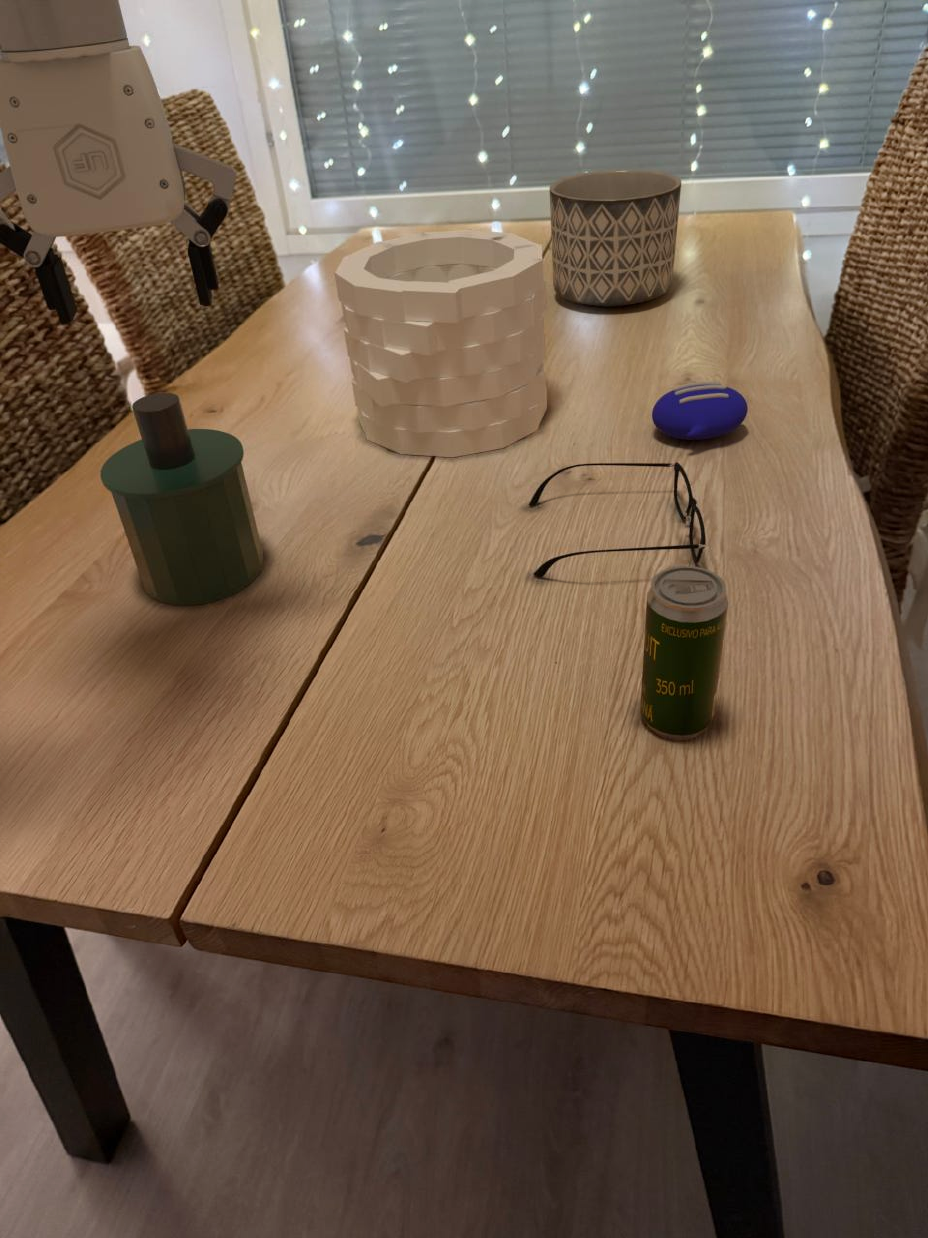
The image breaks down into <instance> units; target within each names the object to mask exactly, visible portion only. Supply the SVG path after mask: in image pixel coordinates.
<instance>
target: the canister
mask: <svg viewBox="0 0 928 1238" xmlns="http://www.w3.org/2000/svg"><path fill="white" fill-rule="evenodd" d="M110 493H111V495H112V499H113V501H114V504H115V508H116V510H117V513H118V516H119V518H120V522H121V525H122V527H123V530H124V533H125V537H126V539H127V543H128V546H129V548H130V551H131V554H132V557H133V560H134V562H135V565H136V569H137V572H138V575H139V577H140V580H141V583H142V586H143V589H144V590H145V592H146V593H147V595H148V596H149V597H151V598H152V599H153V600H155V601H157V602H160V603H163V604H167V605H172V606H197V605H203V604H209V603H213V602H217V601H220V600H222V599H225V598H227V597H231V596H232V595H235V594H236V593H238V592H240V591H242V590H243V589H245V588H246V587H248V586H249V585H250V584H252V582H254V580H256V579H257V577H258V575H260V573H261V571H262V569H263V567H264V561H265V559H264V551H263V547H262V542H261V538H260V534H259V531H258V526H257V522H256V518H255V517H256V516H255V514H254V509H253V505H252V500H251V497H250V493H249V489H248V485H247V480H246V476H245V472H244V468H243V464H242V462H241V463H240V465H239V466H238V467H237V468H236V469H235V470H234V471H233V472H232V473H231V474H229V475H228V476H227V477H225V478H223V479H222V480H220V481H218V482H216V483H214V484H212V485H210V486H208V487H205V488H203V489H200V490H197V491H194V492H190V493H187V494H183V495H178V496H173V497H167V498H158V499H136V498H128V497H123V496H120V495H117V494H114V493H112V492H111V491H110Z"/></svg>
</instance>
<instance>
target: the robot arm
mask: <svg viewBox="0 0 928 1238" xmlns="http://www.w3.org/2000/svg"><path fill="white" fill-rule="evenodd" d="M0 55H1V56H0V57H1V58H0V132H1V136H2V141H3V145H4V150H5V152H6V157H7V160H8V164H9V166H8V167H6V168H5V169H4V170H3V171H2V172H0V203H2V202H3V201H4V200H6V199H7V198H8V197H10V195H11V194H13V193H15V192H16V193H17V197H18V200H19V204H20V207H21V210H22V213H23V215H24V218H25V220H26V223H28V224H27V225H28V226H29V228H30V229H31V230H32V231H33V232H32V234H31V233H30V232H28V231H27V230H26V229H24V228H23V227H21V226H20V225H18V224H17V223H15V222H14V221H11V220H10V219H9V218H8V217H7V215H6V213H5V212H4V211H3V210H2V208H1V207H0V244H1V246H4V247H5V248H7V249H8V250H10V251H12V252H13V253H14V254H16V255H17V256H18V257H20V258H22V259H23V260H24V262H25V263H26V264H27V265H28V266H29V267H31V268H33V269H34V272H35V275H36V278H37V281H38V284H39V286H40V290H41V292H42V296H43V298H44V302H45V304H46V307H47V309H48V311H56V315H57V317H58V320H59V323H60V325H61V326H63V325H70V324H71V323H72V322H73V321H74V319H75V316H76V314H77V313H78V307H77V303H76V300H75V297H74V294H73V290H72V288H71V284H70V282H69V281H70V280H69V278H68V275H67V272H66V269H65V266H64V263H63V259H62V258H61V256H59V255H58V253H55V250H54V248H53V245H54V243H55V242H56V239H57V238H60V237H61V238H62V237H74V236H83V235H92V234H101V233H109V232H116V231H117V232H118V231H124V230H133V229H141V228H149V227H157V226H162V225H166V224H168V223H169V224H171V225H172V226H173V227H175V228H176V229H177V230H178V231H179V232H181V234H183V235H184V236H185V237H186V238H187V239H188V246H187V256H188V261H189V264H190V268H191V273H192V276H193V281H194V285H195V289H196V293H197V297H198V301H199V305H200V306H202V307H203V308H205V307H211V306H212V299H213V292H212V291H217V290H220V286H219V279H218V275H217V274H218V273H217V269H216V266H215V265H216V264H215V261H214V256H213V252H212V251H213V250H212V248H211V243H210V242H211V240H212V238H213V237H214V235H215V234H216V232H217V231H218V230H219V228H220V226H221V224H222V223H223V221H224V220H225V219H226V217H227V215H228V212H229V208H230V204H231V201H232V197H233V193H234V189H235V185H236V183H237V170H236V169H235V167H233V166H232V165H229V164H227V163H225V162H222V161H220V160H217V159H215V158H212V157H210V156H207V155H205V154H202V153H200V152H197V151H194V150H192V149H190V148H187V147H184V146H182V145H180V144H178V143H175V141H174V138H173V134H172V131H171V128H170V124H169V121H168V117H167V115H166V112H165V111H166V110H165V108H164V105H163V102H162V99H161V96H160V93H159V91H158V86H157V84H156V82H155V78H154V76H153V74H152V71H151V68H150V66H149V64H148V61H147V59H146V57H145V54H144V52H143V50H142V48H141V46H140V45H130V41H129V38H128V33H127V30H126V26H125V21H124V17H123V13H122V10H121V5H120V1H119V0H0ZM183 172H185V173H187V174H191V175H193V176H195V177H198V178H201V179H203V180H206V181H208V182H210V183H211V185H212V188H213V190H212V194H211V197H210V201H209V202H208V203H207V205H206V207H205V208H204V210H203V211H202V213H201V214H200V213H199V212H197V211H196V210H195V209H194V208H193V207H192V206H191V205H189V203H187V202H186V201H185V200H186V188H185V186H186V185H185V180H184V176H183Z"/></svg>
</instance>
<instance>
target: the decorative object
mask: <svg viewBox="0 0 928 1238" xmlns="http://www.w3.org/2000/svg"><path fill="white" fill-rule="evenodd" d="M748 410H749V409H748V402H747V400H746V399H745V397H744V396H743V395H742V394H741V393H740V392H739V391H737V390H735V389H733V388H732V387H729V386H726V385H724V384H723V385H722V383H721V382H720V381H711V380H707V381H696V382H689V383H683V384H681V385H677V386H674V387H673V388H672V390H670V391H668V392H666V393H664V394H663V395H662V396H660V397H659V399H658V400H657V401H656V402H655V404H654V405H653V408H652V412H651V419H652V422H653V424H654V426H655V427H656V429H657V430H659V432H661V433H662V434H665V435H666V436H668V437H671V438H675V439H679V440H685V441H687V440H688V441H693V440H694V441H697V440H707V439H712V438H718V437H721V436H725V435H727V434H729V433H732V432H733V431H735V430H736V429H737V428H739V427H740V426H741V425H742V423H743V422H744V421H745V419H746V417H747V415H748Z"/></svg>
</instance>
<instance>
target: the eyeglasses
mask: <svg viewBox="0 0 928 1238" xmlns="http://www.w3.org/2000/svg"><path fill="white" fill-rule="evenodd" d="M587 466H588V467H589V466H590V467H591V466H616V467H617V466H618V467H619V466H622V467H628V466H629V467H654V468H655V467H657V468H673V471H674V475H673V477H674V478H673V479H674V480H673V499H674V502H675V507H676V509H677V512H678V514H679V516H680V518H681V519H682V520H686V521H685V525H686V526H689V531H688V532H689V533H688V539H689V544H681V545H679V544H678V545H664V546H663V545H662V546H661V545H660V546H645V547H630V548H628V547H627V548H616V549H615V548H611V549H598V550H586V551H585V550H584V551H577V552H570V553H566V554H563V555H558V556H555V557H551V558H550V559H548V560H546V561H545V562H543V563H542V564H541V565H540V566H539V567H538V568H537V569H536V570H535V572H533V576H535V577H538V578H543V577H545V575H546V574H547V573H548V571H549V569H551V568H552V566H553V565H555V563H557V562H558V561H560V560H562V559H566V558H570V557H573V556H579V555H586V554H595V553H596V554H597V553H611V552H614V553H615V552H636V551H661V550H662V551H664V550H690V552H691V555H692V558H693V561H694V563H699V562H700V560H701V557H702V555H703V551H704V549H706V547H707V544H706V543H707V538H706V530H705V529H706V528H705V524H704V523H705V522H704V520H703V516H702V512H701V511H700V508H699V507H698V505H697V504H698V501H697V500H696V498H695V497H694V496H693V491H692V487H691V484H690V480H689V477H688V475H687V473H686V471H685V469H684V467H683V466H682V465H681V464H680V463H679V462H677V461H676V462H674V463H672V462H671V463H669V462H668V463H665V462H661V463H660V462H653V463H652V462H650V463H649V462H648V463H647V462H610V463H609V462H607V463H606V462H596V463H578V464H574V465H570V466H567V467H563V468H561V469H559V470H557V471H555V472H553V474H551V475H550V476H548V477H547V478H545V479H544V480H543V482H542V483H541V484H540V485H538V488H537V489H536V490H535V492H534V494H533V495H532V497H531V499H530V501H529V503H528V506H529V507H533V506H536V505H537V504H538V503H539V502H540V498H541V496H542V494H543V492H544V490H545V488H546V486H547V485H548V484H549V482H550V481H551V480H552V479H554V478H555V477H556V476H557V475H559V474H561V473H563V472H565V471H568V470H570V469H574V468H577V467H587ZM680 473H681V475H682V477H683V480H684V483H685V486H686V489H687V494H688V502H687V506H686V507H685V508H684V509H683V511H682V509H681V506H680V502H679V499H678V482H679V475H680ZM695 514H696V516H697V519H698V524H699V529H700V541H699V543H698V544H697V543H696V544H695V543H694V521H695ZM689 515H690V516H689ZM688 518H689V519H688ZM696 549H698V550H697V554H696Z"/></svg>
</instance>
